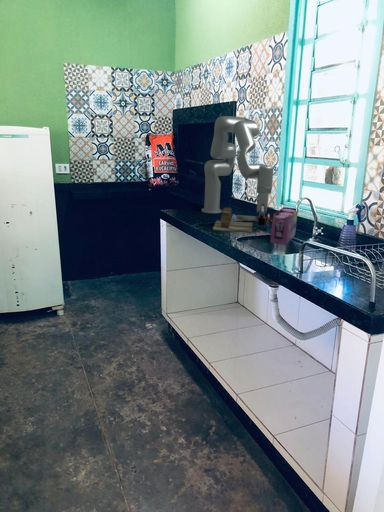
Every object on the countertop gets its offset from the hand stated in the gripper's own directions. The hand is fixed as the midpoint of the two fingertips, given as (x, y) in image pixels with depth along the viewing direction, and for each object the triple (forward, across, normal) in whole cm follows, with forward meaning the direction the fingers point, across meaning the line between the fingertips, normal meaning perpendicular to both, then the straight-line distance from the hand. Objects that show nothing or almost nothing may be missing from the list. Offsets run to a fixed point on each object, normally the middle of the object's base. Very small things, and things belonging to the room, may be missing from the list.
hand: (261, 223), depth 215 cm
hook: (+1, 0, -4) cm, 4 cm away
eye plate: (+3, 0, -14) cm, 15 cm away
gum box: (+4, +15, +11) cm, 19 cm away
